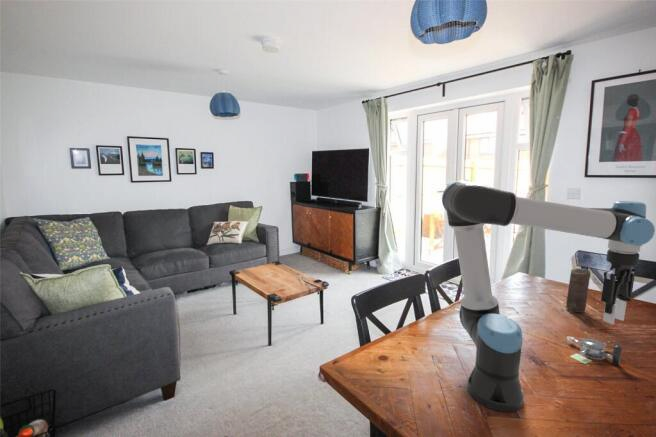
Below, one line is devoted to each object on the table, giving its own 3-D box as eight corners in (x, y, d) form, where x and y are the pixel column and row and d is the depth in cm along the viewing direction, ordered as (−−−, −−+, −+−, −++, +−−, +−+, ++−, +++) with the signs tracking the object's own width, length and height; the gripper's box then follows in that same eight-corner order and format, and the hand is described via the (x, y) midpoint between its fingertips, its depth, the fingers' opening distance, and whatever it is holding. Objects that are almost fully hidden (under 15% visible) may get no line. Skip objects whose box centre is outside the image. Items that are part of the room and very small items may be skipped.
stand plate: (601, 375, 109) (601, 372, 109) (560, 355, 121) (560, 351, 120) (634, 360, 117) (634, 357, 117) (592, 342, 129) (593, 339, 128)
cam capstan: (607, 371, 109) (609, 353, 108) (554, 345, 124) (556, 329, 123) (631, 360, 115) (634, 342, 114) (578, 337, 130) (580, 321, 129)
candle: (588, 315, 151) (594, 273, 147) (570, 314, 152) (575, 272, 149) (579, 308, 158) (584, 267, 155) (562, 306, 160) (567, 267, 156)
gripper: (621, 257, 96) (611, 331, 100) (653, 250, 103) (642, 319, 107) (592, 251, 103) (583, 321, 107) (624, 244, 110) (615, 310, 114)
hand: (613, 320), depth 107 cm, fingers open, 5 cm apart
